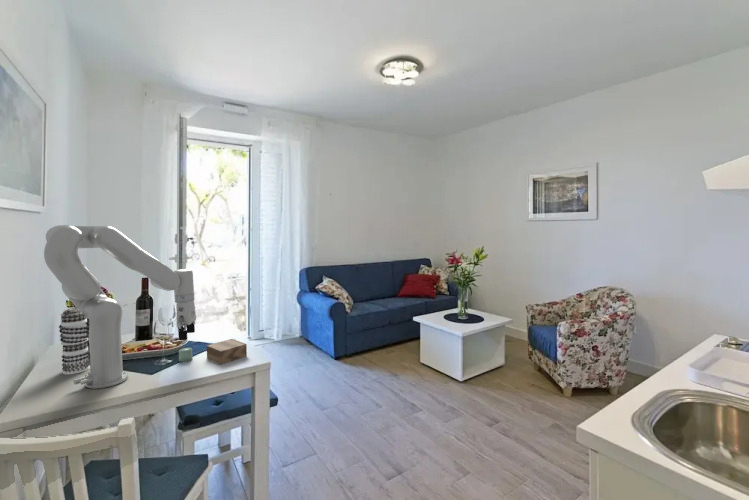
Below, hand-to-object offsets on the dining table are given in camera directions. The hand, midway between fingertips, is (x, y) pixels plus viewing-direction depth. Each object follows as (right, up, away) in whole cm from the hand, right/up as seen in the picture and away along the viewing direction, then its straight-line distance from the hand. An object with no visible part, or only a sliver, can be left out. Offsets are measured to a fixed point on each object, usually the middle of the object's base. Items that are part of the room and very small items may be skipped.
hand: (187, 336), depth 152 cm
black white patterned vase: (-39, -11, -11) cm, 42 cm away
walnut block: (+16, -11, +3) cm, 20 cm away
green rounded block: (-1, -10, 0) cm, 10 cm away
